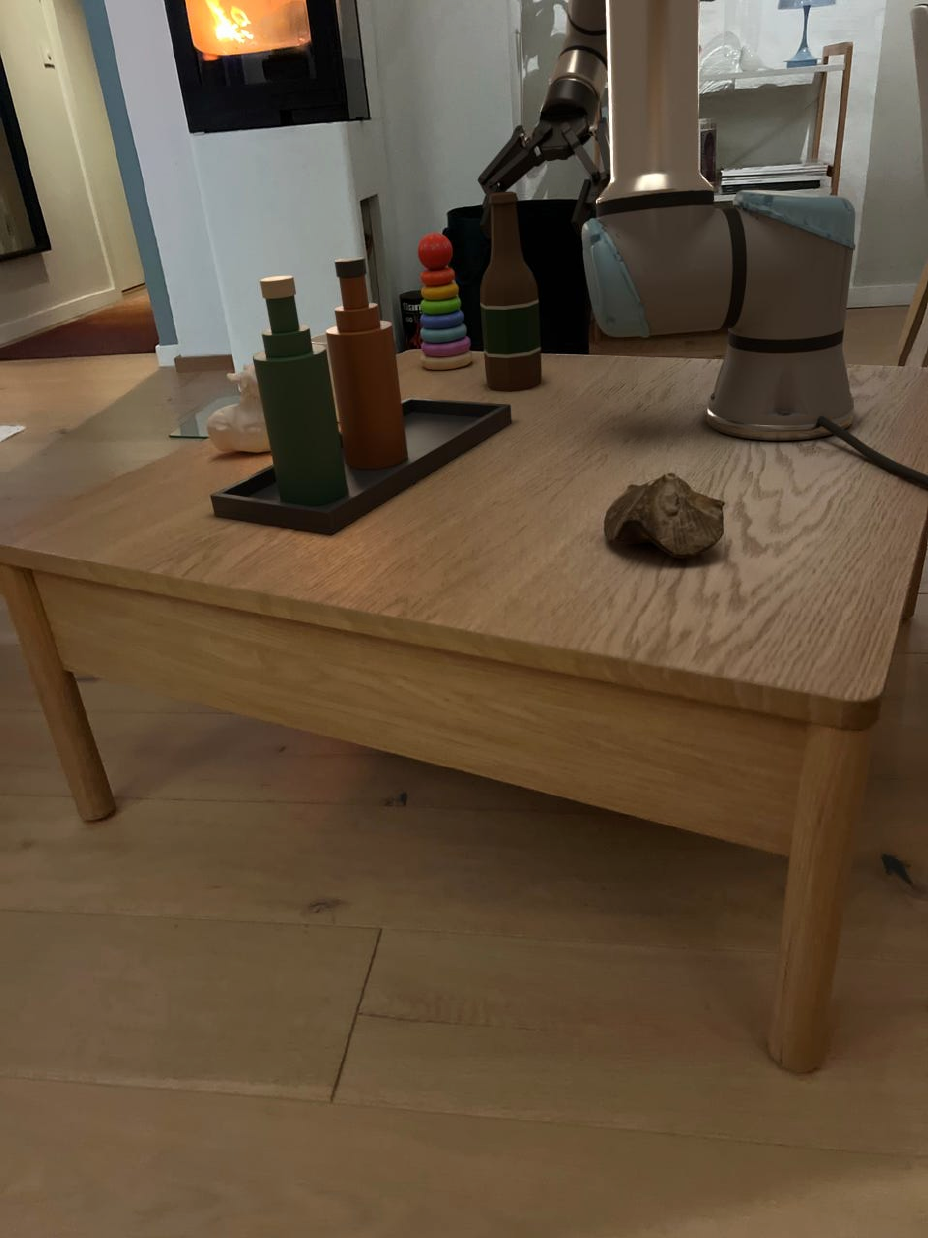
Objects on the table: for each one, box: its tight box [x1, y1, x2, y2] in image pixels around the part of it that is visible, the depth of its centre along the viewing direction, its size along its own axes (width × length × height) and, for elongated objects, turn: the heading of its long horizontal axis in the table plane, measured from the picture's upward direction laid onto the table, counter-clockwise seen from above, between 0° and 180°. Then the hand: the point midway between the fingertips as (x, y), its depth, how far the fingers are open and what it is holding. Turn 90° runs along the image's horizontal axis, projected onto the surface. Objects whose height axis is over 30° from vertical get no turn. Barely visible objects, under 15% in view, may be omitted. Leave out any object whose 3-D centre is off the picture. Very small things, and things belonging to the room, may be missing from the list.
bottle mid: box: [325, 256, 408, 470], centre depth 94 cm, size 7×7×20 cm
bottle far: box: [252, 275, 348, 506], centre depth 86 cm, size 7×7×20 cm
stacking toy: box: [417, 232, 474, 371], centre depth 134 cm, size 8×8×19 cm
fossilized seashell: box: [603, 472, 726, 559], centre depth 73 cm, size 8×7×10 cm
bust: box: [206, 362, 271, 454], centre depth 105 cm, size 12×8×11 cm
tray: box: [209, 397, 513, 536], centre depth 98 cm, size 36×15×2 cm, turn 150°
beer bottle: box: [479, 190, 543, 392], centre depth 119 cm, size 8×8×24 cm
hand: (529, 230), depth 121 cm, fingers open, 13 cm apart
